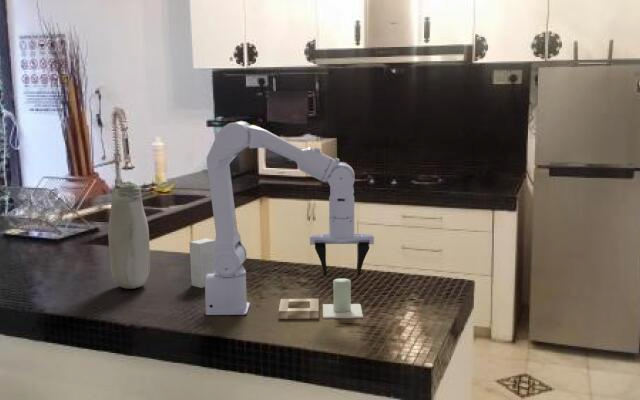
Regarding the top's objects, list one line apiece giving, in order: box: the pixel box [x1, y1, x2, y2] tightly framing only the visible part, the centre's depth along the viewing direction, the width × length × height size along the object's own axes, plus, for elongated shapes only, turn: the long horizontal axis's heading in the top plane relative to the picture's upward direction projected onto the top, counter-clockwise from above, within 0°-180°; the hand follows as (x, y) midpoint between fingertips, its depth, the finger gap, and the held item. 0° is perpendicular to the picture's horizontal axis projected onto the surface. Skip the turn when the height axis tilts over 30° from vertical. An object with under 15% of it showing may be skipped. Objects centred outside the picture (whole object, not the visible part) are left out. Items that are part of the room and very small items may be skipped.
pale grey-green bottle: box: [107, 181, 151, 290], centre depth 174 cm, size 10×10×28 cm
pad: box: [322, 303, 364, 319], centre depth 155 cm, size 9×9×1 cm
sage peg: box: [332, 278, 352, 313], centre depth 154 cm, size 4×4×7 cm
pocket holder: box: [278, 298, 320, 320], centre depth 154 cm, size 9×9×2 cm
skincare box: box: [189, 237, 215, 289], centre depth 177 cm, size 6×4×12 cm
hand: (341, 274), depth 153 cm, fingers open, 7 cm apart
